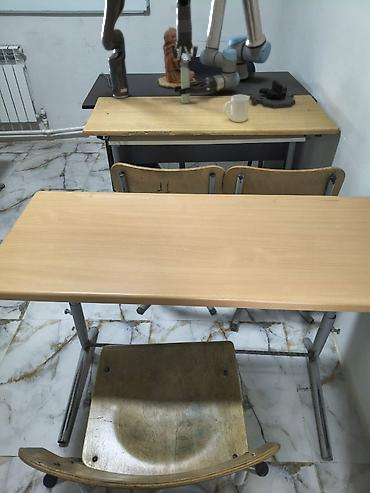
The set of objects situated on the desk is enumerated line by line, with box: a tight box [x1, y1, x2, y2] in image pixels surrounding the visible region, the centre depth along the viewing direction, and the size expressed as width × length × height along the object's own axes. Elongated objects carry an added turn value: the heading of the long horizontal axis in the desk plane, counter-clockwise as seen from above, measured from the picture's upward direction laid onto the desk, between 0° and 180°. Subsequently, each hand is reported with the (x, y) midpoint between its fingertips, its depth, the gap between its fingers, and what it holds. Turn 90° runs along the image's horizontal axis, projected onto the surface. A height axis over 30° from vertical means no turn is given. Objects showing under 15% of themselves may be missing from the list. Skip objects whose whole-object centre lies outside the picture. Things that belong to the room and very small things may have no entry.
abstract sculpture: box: [249, 79, 296, 109], centre depth 189 cm, size 25×9×20 cm
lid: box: [180, 59, 189, 67], centre depth 183 cm, size 5×5×2 cm
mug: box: [222, 94, 250, 123], centre depth 170 cm, size 12×8×10 cm
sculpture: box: [157, 27, 197, 89], centre depth 214 cm, size 27×24×30 cm
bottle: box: [181, 66, 191, 104], centre depth 190 cm, size 4×4×19 cm
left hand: (185, 67), depth 185 cm, fingers closed on lid, 5 cm apart
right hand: (176, 91), depth 190 cm, fingers closed on bottle, 5 cm apart
